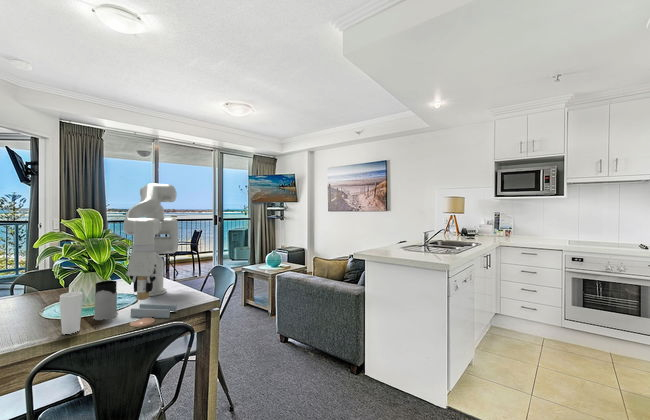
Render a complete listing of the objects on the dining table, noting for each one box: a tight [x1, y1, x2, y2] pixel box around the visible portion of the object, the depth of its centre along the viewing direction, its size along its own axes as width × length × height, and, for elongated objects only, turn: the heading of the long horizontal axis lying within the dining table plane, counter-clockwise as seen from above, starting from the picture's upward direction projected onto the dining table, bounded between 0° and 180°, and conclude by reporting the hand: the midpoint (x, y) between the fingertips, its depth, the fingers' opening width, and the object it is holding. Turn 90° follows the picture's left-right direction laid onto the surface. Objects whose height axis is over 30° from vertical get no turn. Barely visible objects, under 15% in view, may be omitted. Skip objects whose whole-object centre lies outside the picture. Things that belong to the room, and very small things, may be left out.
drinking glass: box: [58, 291, 84, 336], centre depth 112 cm, size 7×7×15 cm
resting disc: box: [129, 317, 156, 328], centre depth 123 cm, size 9×9×1 cm
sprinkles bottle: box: [136, 276, 150, 301], centre depth 123 cm, size 5×5×13 cm
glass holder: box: [92, 280, 119, 321], centre depth 131 cm, size 9×14×15 cm, turn 20°
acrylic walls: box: [130, 303, 178, 319], centre depth 132 cm, size 17×7×4 cm, turn 89°
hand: (143, 290), depth 123 cm, fingers closed on sprinkles bottle, 4 cm apart
